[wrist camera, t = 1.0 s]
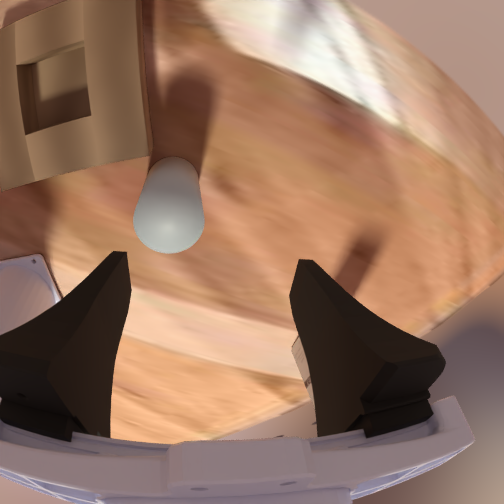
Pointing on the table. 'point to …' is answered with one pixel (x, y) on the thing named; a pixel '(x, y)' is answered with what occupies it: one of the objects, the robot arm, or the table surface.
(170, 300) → the table surface
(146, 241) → the peg
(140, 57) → the walnut socket block
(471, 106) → the table surface
